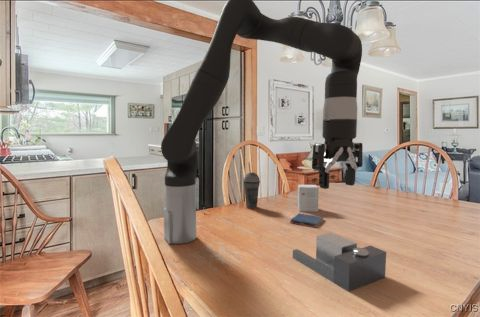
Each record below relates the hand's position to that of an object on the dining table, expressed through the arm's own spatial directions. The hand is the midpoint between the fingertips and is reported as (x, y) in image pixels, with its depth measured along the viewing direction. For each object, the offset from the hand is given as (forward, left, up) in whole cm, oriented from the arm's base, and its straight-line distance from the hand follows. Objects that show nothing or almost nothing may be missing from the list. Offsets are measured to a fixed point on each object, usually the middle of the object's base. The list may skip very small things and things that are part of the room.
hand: (337, 186), depth 66 cm
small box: (+29, +42, -20) cm, 55 cm away
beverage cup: (+10, +57, -20) cm, 61 cm away
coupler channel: (0, 0, -20) cm, 20 cm away
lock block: (0, 0, -20) cm, 20 cm away
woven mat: (+18, +30, -21) cm, 41 cm away
